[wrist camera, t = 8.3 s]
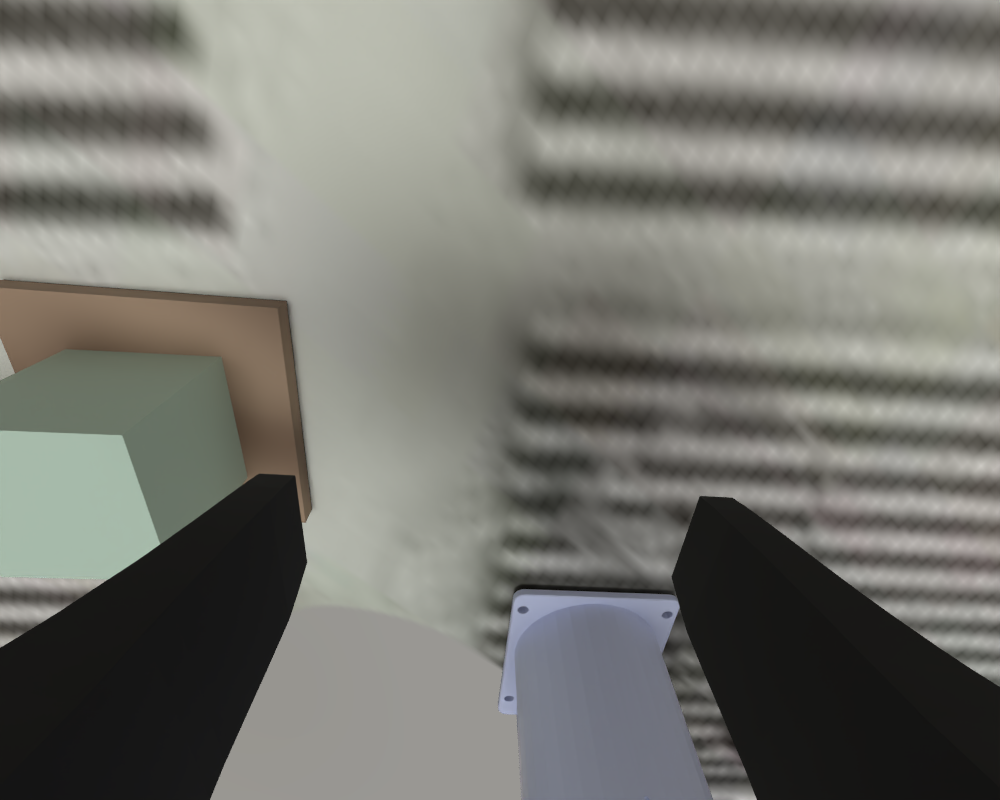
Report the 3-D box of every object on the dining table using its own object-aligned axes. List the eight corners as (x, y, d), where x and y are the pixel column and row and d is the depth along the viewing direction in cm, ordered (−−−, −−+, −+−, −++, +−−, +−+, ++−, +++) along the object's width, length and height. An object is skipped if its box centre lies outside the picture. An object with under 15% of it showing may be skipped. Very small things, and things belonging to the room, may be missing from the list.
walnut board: (311, 509, 20) (305, 522, 20) (87, 498, 20) (72, 512, 19) (286, 301, 16) (277, 308, 15) (2, 280, 16) (-22, 286, 15)
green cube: (247, 477, 18) (172, 580, 14) (112, 472, 18) (-8, 576, 14) (221, 356, 16) (122, 435, 12) (65, 349, 16) (-97, 426, 11)
